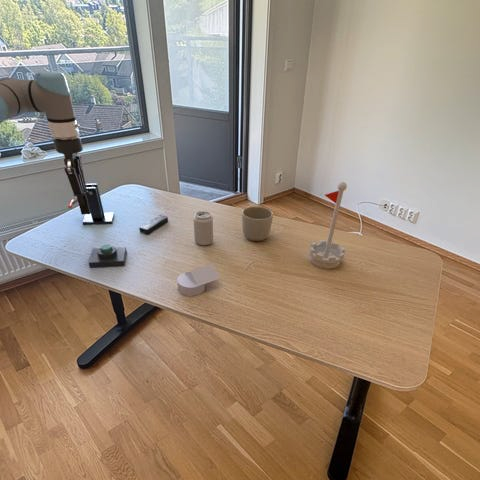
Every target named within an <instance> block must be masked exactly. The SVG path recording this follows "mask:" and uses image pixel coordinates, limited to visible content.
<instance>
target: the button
mask: <svg viewBox="0 0 480 480" xmlns="http://www.w3.org/2000/svg"><path fill="white" fill-rule="evenodd" d="M111 246H112V245H111V244H102V245H101V246H100V247H101V251H102V253H110V252H111V251H112V248H111Z"/></svg>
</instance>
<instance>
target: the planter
mask: <svg viewBox="0 0 480 480" xmlns="http://www.w3.org/2000/svg"><path fill="white" fill-rule="evenodd" d="M273 218H274V212H273V210H271V209H270V208H268V207H265V206H257V205H255V206H254V205H253V206H252V205H251V206H248V207H246V208H244V209H243V210H242V212H241V225H242V228H241V229H242V233H243V236H244V237H245V238H246V239H248V240H250V241H251V242H261V241H264V240H266V239H267V238H268V237H269V236H270V234H271V229H272V223H273Z"/></svg>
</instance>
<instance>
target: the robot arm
mask: <svg viewBox="0 0 480 480" xmlns="http://www.w3.org/2000/svg"><path fill="white" fill-rule="evenodd" d="M24 113H44V114H45V117H46V120H47V125H48V128H49V132H50V135H51V137H52V141H53V145H54V149H55V151H56V153H58V154H62V155H63V156H64V158H63V163H64V166H65V167H64V168H63V169H64V172H65V174H66V176H67V179H68V182H69V184H70V187H71V190H72V194H73V197H76V199H78V202H77V204H78V206H79V210H80V214H81V215H85V214H90V213H91V211H90V207H89V203H88V199H87V195H86V193H88V190H85V189H86V184H87V183H86V179H85V178H86V177H85V173H84V169H83V163H82V162H83V161H82V156H81V155H79V153H81V152H82V151H83V150H84V147H83V143H82V138H81V137H80V136H79V135H80V130H79V128H80V124H79V123H77V118H76V115H75V114H76V113H75V109H74V105H73V100H72V95H71V91H70V88H69V84H68V81H67V78H66V76H65V74H64V73H62V72H60V71H57V70H49V71H48V70H39V71H36V72H35V73H34V79H25V78H24V79H23V78H11V77H0V124H2V123H4V122H5V121H7V120H9V119H12V118H14V117H18V116H19V115H21V114H22V115H23V114H24Z"/></svg>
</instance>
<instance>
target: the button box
mask: <svg viewBox="0 0 480 480" xmlns="http://www.w3.org/2000/svg"><path fill="white" fill-rule="evenodd" d="M111 248H112V251H111V252H110V253H102V251H101V246H100V247H97V248H96V247H94V248H92V249H91V253H90V256H89V258H88V266H89V269H96V268H113V267H125V266H126V259H127V255H128V254H127V253H128V252H127V247H126V246H118V247H115V246H113V245H111Z"/></svg>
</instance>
